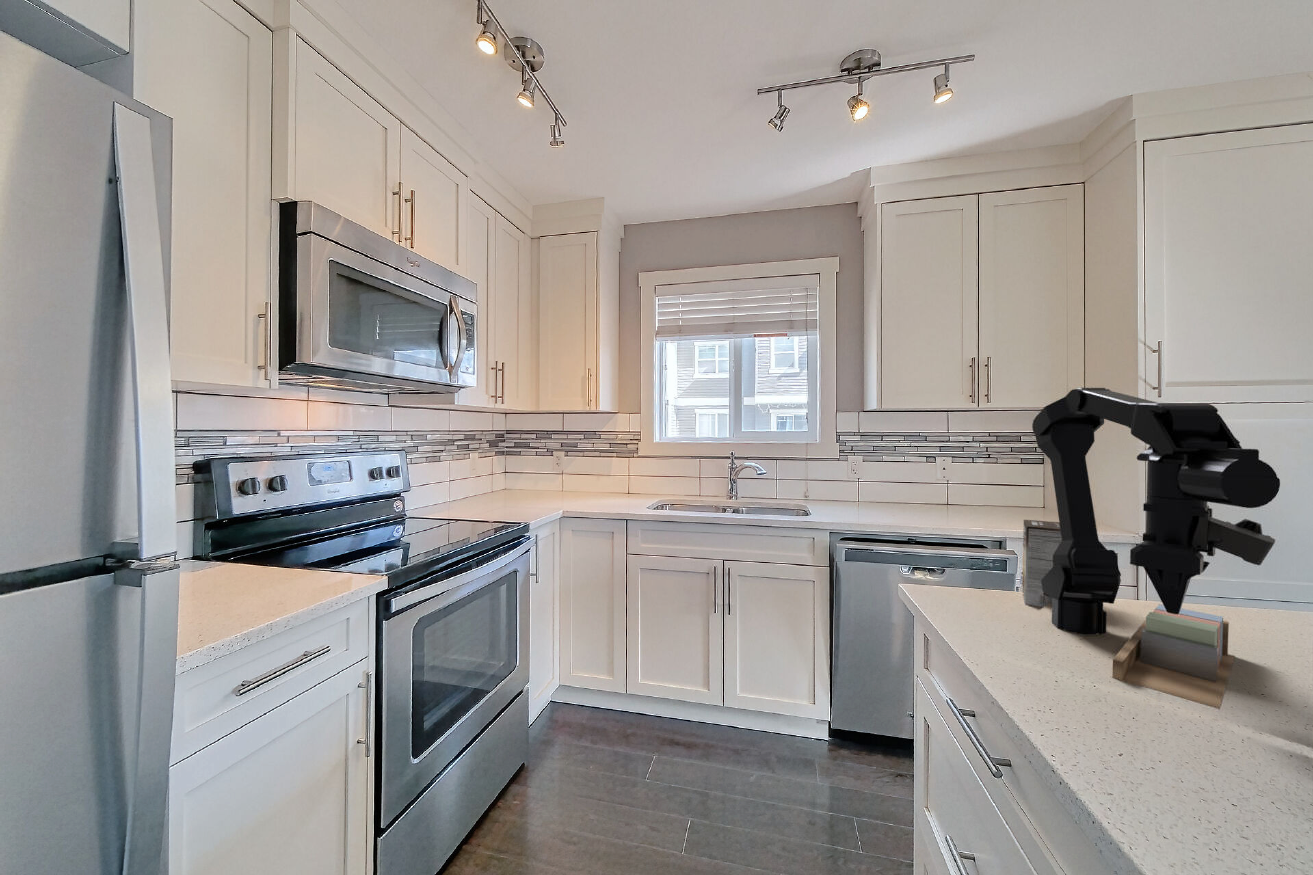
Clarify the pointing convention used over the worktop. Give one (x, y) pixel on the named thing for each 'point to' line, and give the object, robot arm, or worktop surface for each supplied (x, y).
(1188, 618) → the book brick
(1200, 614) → the book blue
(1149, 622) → the green book
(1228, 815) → the worktop surface
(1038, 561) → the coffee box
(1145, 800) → the worktop surface
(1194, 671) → the bookend
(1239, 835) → the worktop surface
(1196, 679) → the wooden book rack
